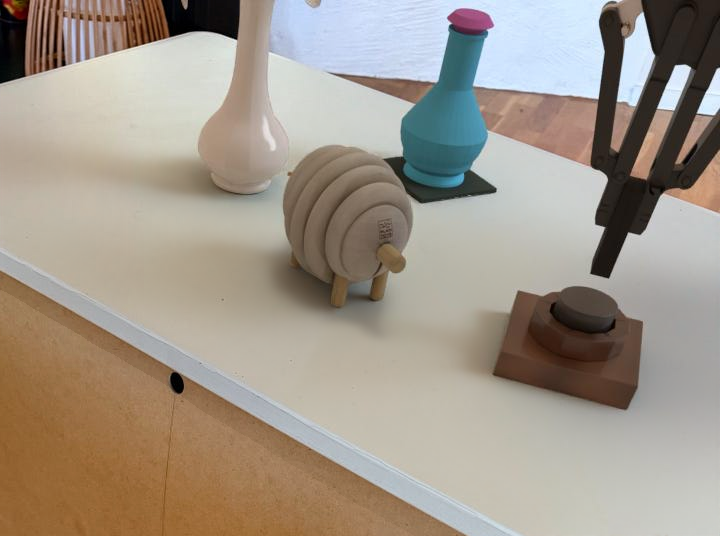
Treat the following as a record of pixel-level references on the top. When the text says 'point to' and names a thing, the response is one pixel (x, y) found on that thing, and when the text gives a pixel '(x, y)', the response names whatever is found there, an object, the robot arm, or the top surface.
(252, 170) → the flower vase
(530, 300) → the button block
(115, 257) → the top surface
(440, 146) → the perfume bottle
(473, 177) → the coaster
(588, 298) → the button
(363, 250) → the toy sheep
